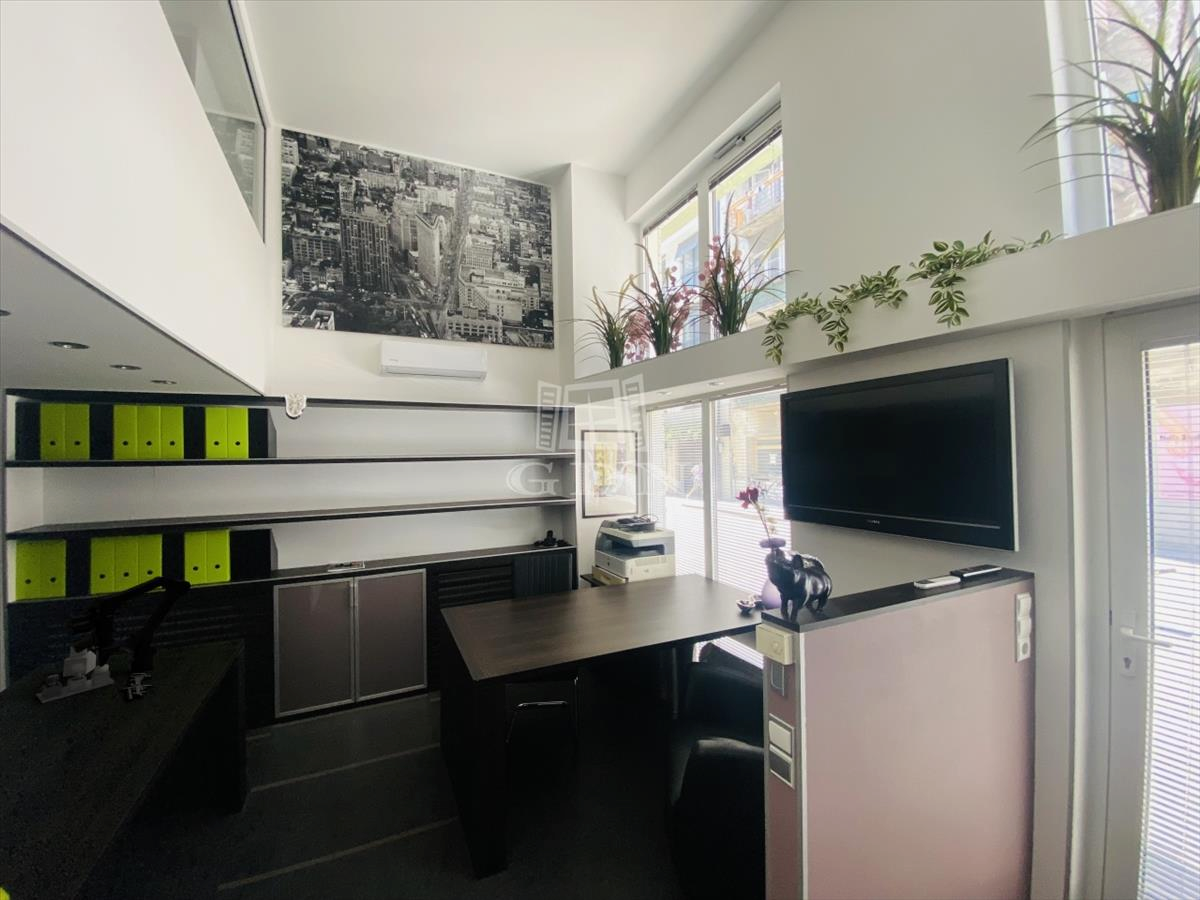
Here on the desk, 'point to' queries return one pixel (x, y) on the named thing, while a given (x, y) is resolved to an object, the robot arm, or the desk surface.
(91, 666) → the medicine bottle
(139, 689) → the nameplate
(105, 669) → the knob
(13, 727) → the desk surface
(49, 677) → the pot knob
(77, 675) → the knob
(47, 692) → the mount strip
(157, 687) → the desk surface
